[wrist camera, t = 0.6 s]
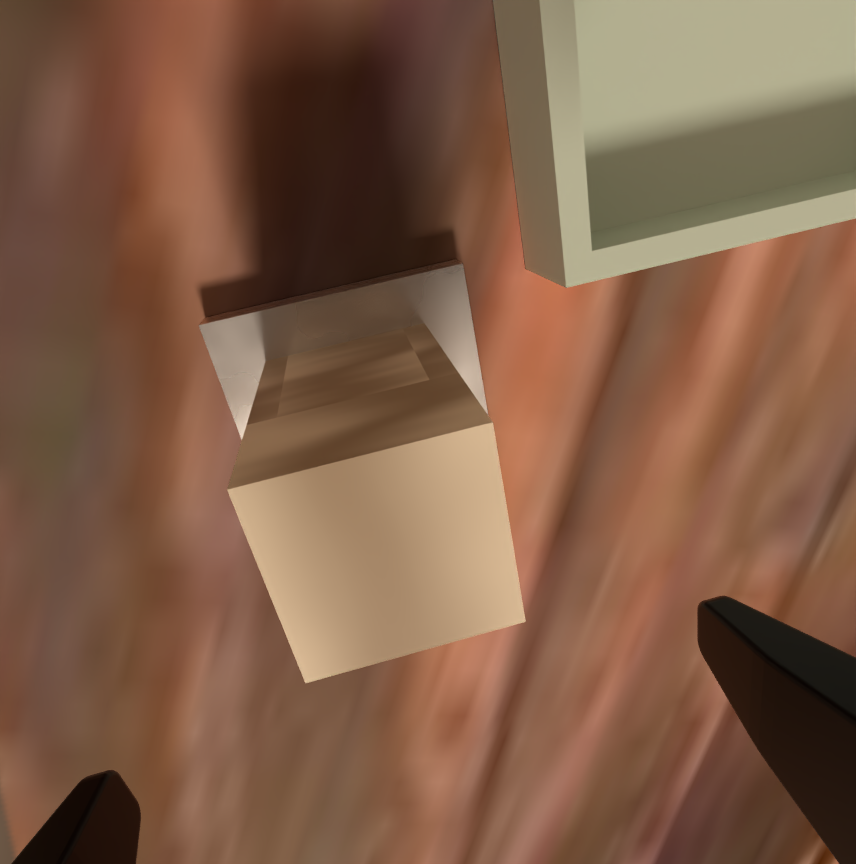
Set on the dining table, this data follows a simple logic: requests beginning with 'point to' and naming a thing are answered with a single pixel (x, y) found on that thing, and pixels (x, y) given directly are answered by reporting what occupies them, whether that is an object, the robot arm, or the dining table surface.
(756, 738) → the robot arm
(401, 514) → the tan rectangular block
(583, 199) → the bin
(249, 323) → the stud block
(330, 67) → the dining table surface
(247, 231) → the dining table surface
